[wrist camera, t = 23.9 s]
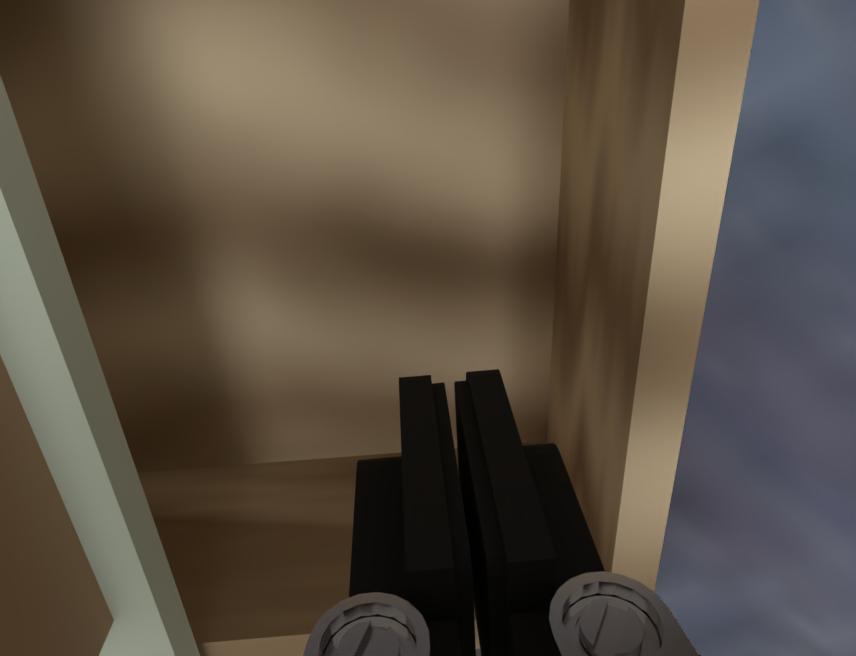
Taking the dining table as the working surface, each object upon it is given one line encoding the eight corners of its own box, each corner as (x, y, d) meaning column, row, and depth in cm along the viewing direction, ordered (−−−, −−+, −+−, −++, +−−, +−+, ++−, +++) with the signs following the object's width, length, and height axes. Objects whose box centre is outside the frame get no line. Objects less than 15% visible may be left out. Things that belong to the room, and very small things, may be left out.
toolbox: (570, 447, 24) (646, 634, 17) (95, 483, 24) (-27, 692, 17) (613, -123, 16) (798, -216, 9) (-127, -87, 15) (-568, -154, 8)
